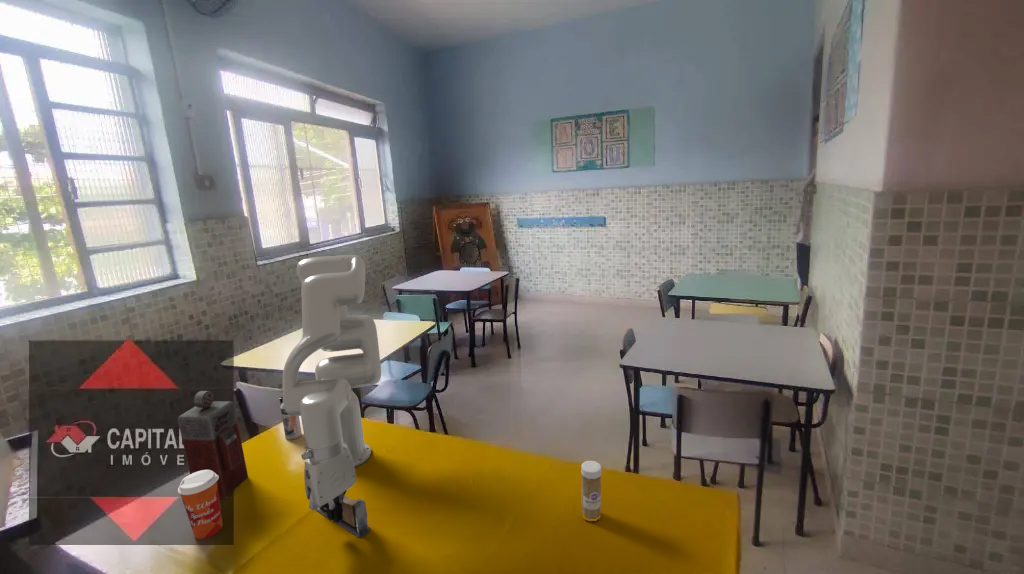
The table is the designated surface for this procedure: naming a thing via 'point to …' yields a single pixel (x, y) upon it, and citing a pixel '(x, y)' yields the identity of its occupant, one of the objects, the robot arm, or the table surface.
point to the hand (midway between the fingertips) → (335, 518)
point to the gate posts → (361, 519)
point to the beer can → (290, 424)
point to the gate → (349, 511)
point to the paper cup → (202, 503)
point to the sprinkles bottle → (591, 489)
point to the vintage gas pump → (214, 441)
